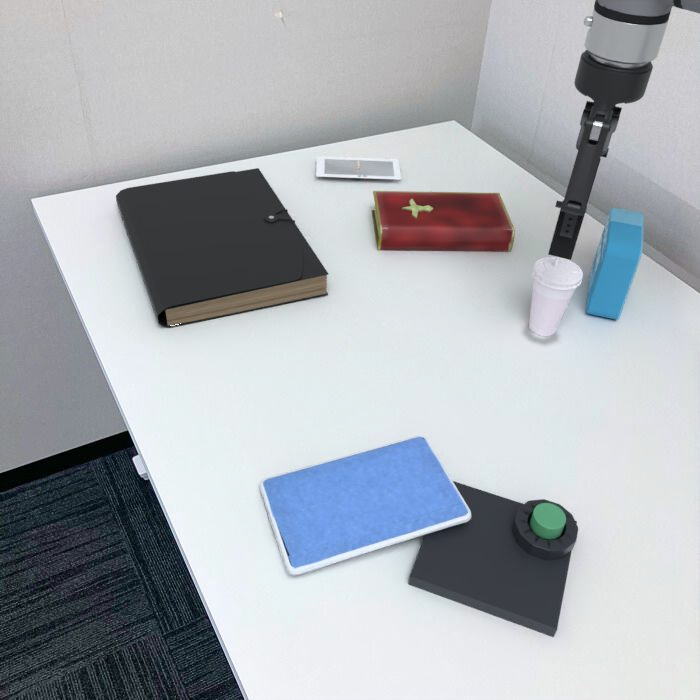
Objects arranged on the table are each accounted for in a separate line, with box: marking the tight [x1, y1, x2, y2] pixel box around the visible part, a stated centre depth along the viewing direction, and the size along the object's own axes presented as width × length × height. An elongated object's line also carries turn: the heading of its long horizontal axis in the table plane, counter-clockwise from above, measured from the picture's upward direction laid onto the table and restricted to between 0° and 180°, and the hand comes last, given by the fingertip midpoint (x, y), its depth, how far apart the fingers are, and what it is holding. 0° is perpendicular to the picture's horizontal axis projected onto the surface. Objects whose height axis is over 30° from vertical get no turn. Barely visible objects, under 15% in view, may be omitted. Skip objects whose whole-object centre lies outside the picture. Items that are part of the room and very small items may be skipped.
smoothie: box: [528, 256, 584, 337], centre depth 99 cm, size 6×6×14 cm
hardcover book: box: [371, 190, 516, 253], centre depth 120 cm, size 12×21×4 cm, turn 93°
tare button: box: [530, 503, 566, 539], centre depth 74 cm, size 3×3×2 cm
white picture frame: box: [315, 155, 402, 181], centre depth 134 cm, size 8×15×2 cm, turn 91°
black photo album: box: [115, 167, 329, 328], centre depth 113 cm, size 33×4×24 cm
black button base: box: [407, 480, 579, 638], centre depth 74 cm, size 14×13×3 cm
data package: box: [585, 207, 645, 321], centre depth 106 cm, size 12×4×12 cm, turn 163°
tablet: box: [259, 435, 471, 577], centre depth 77 cm, size 19×13×1 cm, turn 109°
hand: (568, 228), depth 93 cm, fingers open, 13 cm apart
